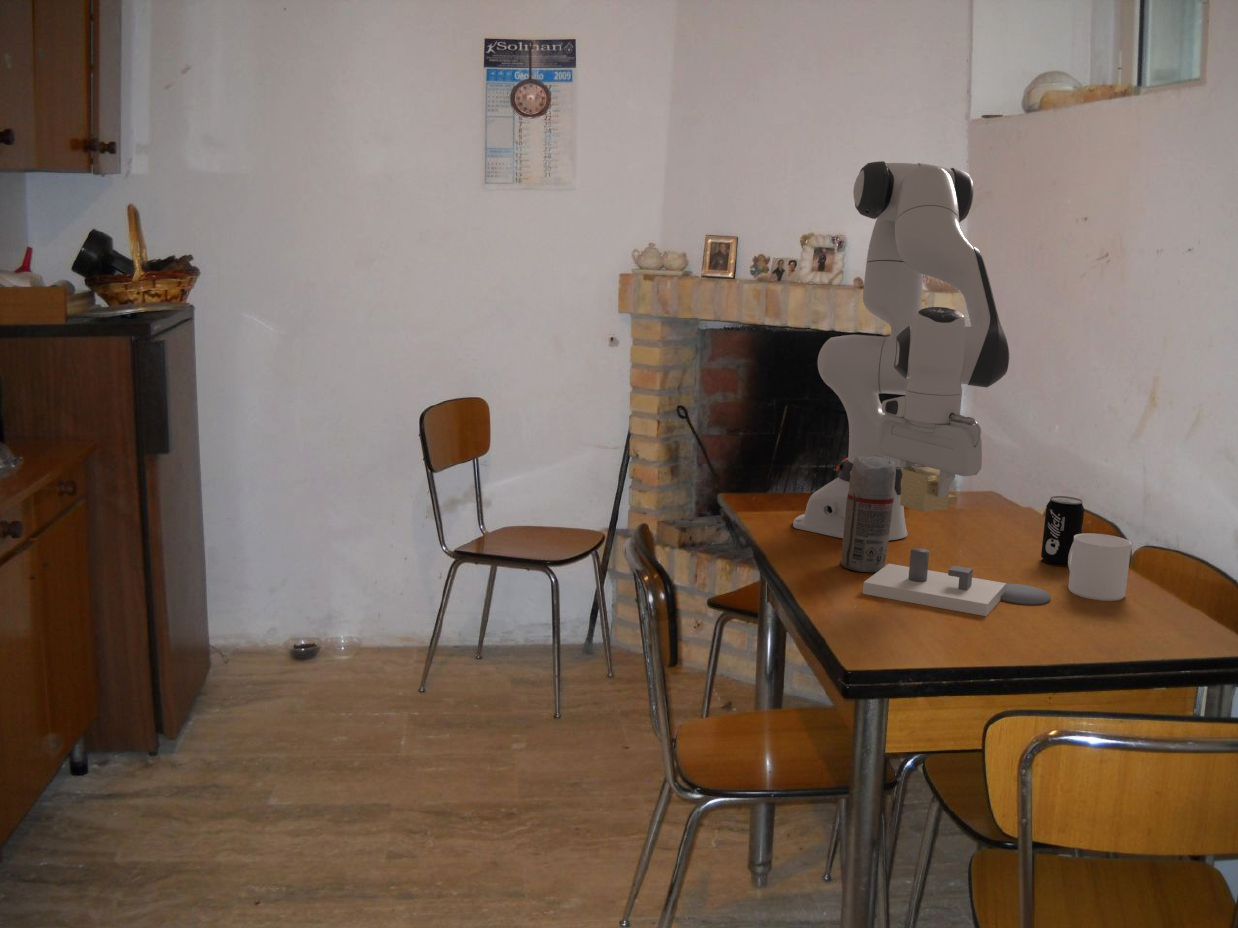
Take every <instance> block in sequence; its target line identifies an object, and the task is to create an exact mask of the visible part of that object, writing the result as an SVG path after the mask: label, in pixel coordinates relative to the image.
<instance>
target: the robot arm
mask: <svg viewBox="0 0 1238 928" xmlns="http://www.w3.org/2000/svg"><path fill="white" fill-rule="evenodd" d="M853 184H854V185H853V191H852V192H853V193H852V194H853V200H854V207H855V209H856V210H857V211H858V213H859V214H860V215H861V216H864V217H866V218H868V219H872V220H875V223H874V225H873V229H872V232H871V236H870V241H869V245H868V250H867V258H866V265H865V272H864V273H865V274H864V284H863V291H862V302H863V305H864V306H865V309H866V310H867V311H868V312H869V313H871V314H872V315H874V316H875V317H877V318H878V319H880V320H882V321H884V322H886V323H887V324H889V326H890V335H887V336H880V335H879V336H878V335H866V334H865V335H864V334H847V335H841V336H833V337H830V338H829V339H827V340H826V341H825V342H824V344H823V345H822V347H821V348H820V350H819V352H818V356H817V369H818V373H819V376H820V377H821V379H822V380H823V383H824V384H826V385H827V386H828V387H829V388H830V389H831V391H832V390H833V392H834V393H835V394H836V396H838V398H839V400H840V402H841V403H842V406H843V407H844V410H845V412H846V415H847V421H848V432H849V433H848V436H849V437H848V457H846V458H844V459H843V460H841V462H839V463H838V465H836V466H835V467H836V468H835V471H836V472H837V476H838V477H836V478H834V479H833V480H832V481H830V482H829V483H827V484H825V485H824V486H822V487H820V488H819V489H818V490H816V491H815V492H813V494H811V495H810V497H809V499H808V501H807V503H806V508H805V512H804V513H802V514H800V515H798V516H797V517H795V518H794V519H793V521H792V522H793V523H792V526H793V528H795V529H798V530H802V531H807V532H810V533H811V532H812V533H817V534H819V535H820V534H821V535H825V536H830V537H835V538H839V539H843V532H844V523H845V511H846V501H847V496H848V492H849V484H850V476H851V471H852V467H853V463H854V460H855V457H858V456H859V457H861V456H869V455H874V454H875V455H879V456H882V457H884V458H885V459H887V460H892V461H894V462H895V464H896V475H895V487H894V502H893V510H892V520H891V525H890V533H889V541H894V540H901V539H904V538H906V537H907V536H908V530H907V526H906V519H905V510H904V509H905V506H902V505H900V497H901V485H902V474H903V469H907V468H913V467H915V465H920V466H922V467H930V468H934V469H938V470H940V477H942V479H941V481H940V482H939V484H938V485H934V492H933V495H934V496H937V497H940V498H943V497H947V495H948V486H950V487H951V484H952V482H953V481H954V480H955V478H956V476H960V477H972V476H977V474H979V473H980V472H981V470H982V461H983V450H982V449H983V447H982V445H983V444H982V438H981V434H982V429H981V426H980V425H979V424H978V422H977V421H976V420H975V418H974V417H971V416H964V415H961V408H962V407H961V406H962V398H963V397H962V396H963V389H962V388H963V387H962V385H967V386H972V387H980V388H989V387H990V386H993V385H994V384H996V383H998V381H1000V380H1001V379H1002V378H1003V377H1004V376H1005V375H1007V372H1008V369H1009V364H1010V347H1009V345H1008V344H1009V343H1008V340H1007V337H1006V334H1005V331H1004V329H1003V327H1002V325H1001V321H1000V318H999V313H998V310H997V306H996V301H995V298H994V294H993V290H992V289H993V288H992V286H991V282H990V278H989V274H988V270H987V266H986V263H985V260H984V258H983V255H982V253H981V251H980V250H979V248H977V247H976V246H974V245H972V244H971V243H970V241H968V239H966V237H965V236H964V233H963V231H962V229H961V225H960V223H962V221H964V220H965V219H966V218H967V217H968V215H969V212H970V210H971V208H972V206H973V202H974V194H975V191H974V182H973V179H972V178H971V176H970V174H969V173H968V172H965V171H963V170H961V169H958V168H955V167H950V168H946V167H943V166H938V165H935V164H934V165H933V164H928V163H922V162H921V163H920V162H917V163H911V162H909V163H908V162H885V161H883V160H881V161H872V162H868V163H866V164H865V165H864V166H863V167H861V169H860V171H859V172H858V175H857V177H856V178H855V182H854V183H853ZM924 275H925V276H928V277H931V278H934V279H937V280H939V281H942V282H944V283H946V284H949V285H950V286H953V287H954V288H956V290H958V291H959V292H960V293H961V294H962V295H963V298H964V300H965V305H966V308H967V309H966V310H967V313H968V318H969V323H970V326H966V322H965V321H966V320H965V315H964V314H963V313H962V312H961V311H959V310H958V309H957V310H956V309H953V308H949V307H942V306H929V307H925V308H923V286H924V285H923V284H924V283H923V281H924ZM879 394H889V395H900V396H898V397H893V398H889V399H885V400H883V401H882V402H881V400H880V396H879ZM901 395H902V396H901Z"/></svg>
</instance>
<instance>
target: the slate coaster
mask: <svg viewBox="0 0 1238 928" xmlns="http://www.w3.org/2000/svg"><path fill="white" fill-rule="evenodd" d="M1005 583H1006V591H1005V592H1004V594H1003V595H1002V596H1001V600H1000V601H1002V602H1006V603H1012V604H1018V605H1027V606H1028V605H1032V606H1033V605H1034V606H1035V605H1036V606H1037V605H1044V604H1047V603H1049V602H1050V601H1051V596H1052V595H1051V594H1050V593H1049V592H1048V591H1046V590H1044V589H1042V588H1039V587H1035V586H1031V585H1025V584H1020V583H1010V582H1009V583H1007V582H1005Z"/></svg>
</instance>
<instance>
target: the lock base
mask: <svg viewBox="0 0 1238 928" xmlns="http://www.w3.org/2000/svg"><path fill="white" fill-rule="evenodd" d="M929 560H930V550H928V549H926V548H916V547H915V548H911V549H910V556H909V566H907V565H899V564H893V563H888V564H885V567H884V568H882V569H881V570H879V571H878V572H874V574H873V575H871V576H870V577H869V578H867V579H866V580H865V581H863V588H862V595H866V596H873V597H879V598H884V599H890V600H894V601H901V602H905V603H911V604H916V605H923V606H927V607H933V608H939V609H945V610H949V611H955V612H960V613H965V614H971V615H977V616H982V617H988V615H989V614H990V613H991V612H992V611H993V609H994V608H995V607H996V606H997V605H998V603H1000V601H1002V600H1001V596H1002V595H1003V594H1004V592H1005V591H1006V583H1007V582H999V581H996V580H994V581H993V580H988V579H983V578H977V577H973V572H974V569H973V568H969V567H964V566H957V565H952V566H951V567H950V568H949V569H948V573H947V572H941V571H935V570H929Z"/></svg>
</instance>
